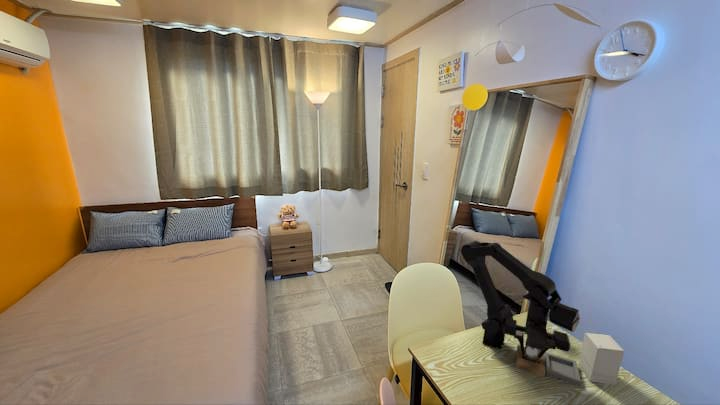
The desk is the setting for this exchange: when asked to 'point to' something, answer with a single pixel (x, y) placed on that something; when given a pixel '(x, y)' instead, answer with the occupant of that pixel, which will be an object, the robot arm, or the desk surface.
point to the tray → (562, 368)
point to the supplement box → (600, 358)
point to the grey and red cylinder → (530, 353)
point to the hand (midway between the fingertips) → (530, 354)
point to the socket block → (530, 363)
